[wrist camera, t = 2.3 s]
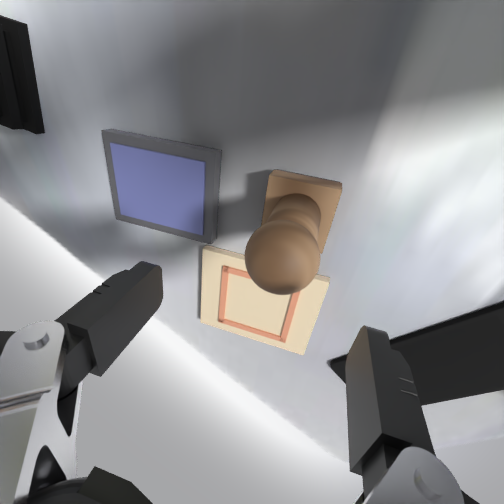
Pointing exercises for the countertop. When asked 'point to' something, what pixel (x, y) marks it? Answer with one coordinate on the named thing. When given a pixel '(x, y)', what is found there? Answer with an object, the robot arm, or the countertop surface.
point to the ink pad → (164, 184)
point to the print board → (256, 303)
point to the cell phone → (453, 356)
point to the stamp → (291, 231)
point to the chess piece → (18, 79)
